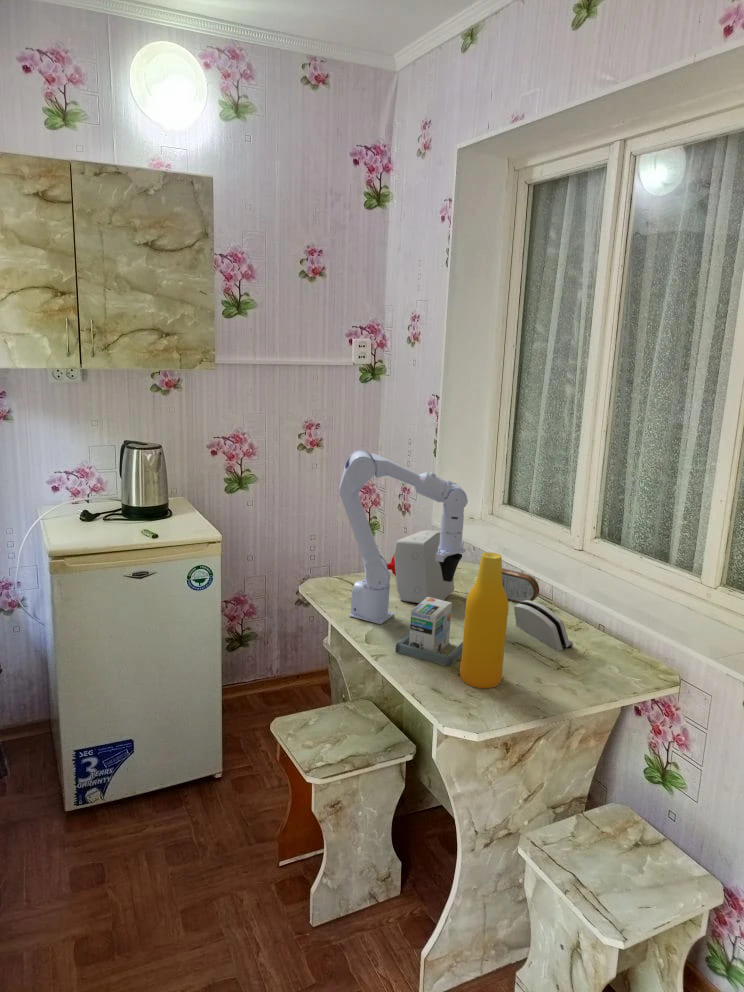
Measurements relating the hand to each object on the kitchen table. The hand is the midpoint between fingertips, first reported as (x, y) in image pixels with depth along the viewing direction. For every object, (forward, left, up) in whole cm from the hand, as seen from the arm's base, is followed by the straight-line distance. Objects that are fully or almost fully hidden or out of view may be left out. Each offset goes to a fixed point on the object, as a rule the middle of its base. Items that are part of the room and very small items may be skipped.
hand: (447, 580), depth 199 cm
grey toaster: (+25, +2, -11) cm, 28 cm away
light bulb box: (+4, -19, -11) cm, 22 cm away
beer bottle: (+20, -28, -11) cm, 36 cm away
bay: (+5, -18, -10) cm, 21 cm away
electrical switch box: (-13, +11, -11) cm, 20 cm away
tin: (+11, +23, -11) cm, 28 cm away
